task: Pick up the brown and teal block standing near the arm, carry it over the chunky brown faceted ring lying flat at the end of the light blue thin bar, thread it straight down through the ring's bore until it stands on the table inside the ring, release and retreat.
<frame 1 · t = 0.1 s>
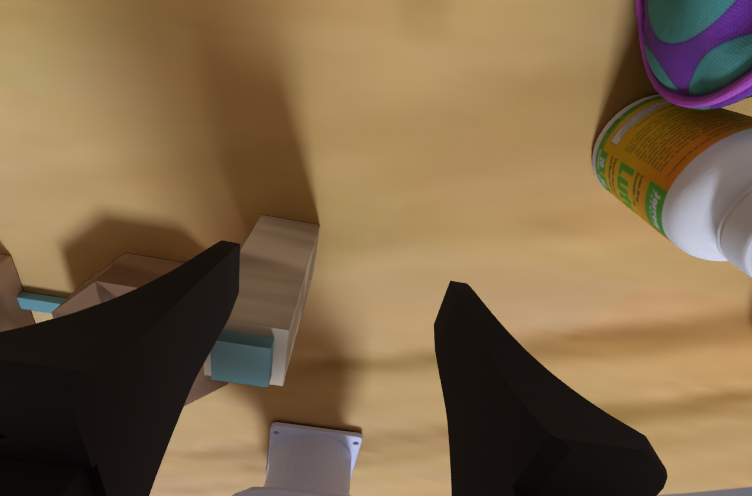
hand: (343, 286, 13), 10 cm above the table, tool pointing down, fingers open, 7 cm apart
supplement bottle: (640, 144, 21), on the table
brown faceted ring: (167, 319, 28), on the table
brown and teal block: (288, 244, 24), on the table
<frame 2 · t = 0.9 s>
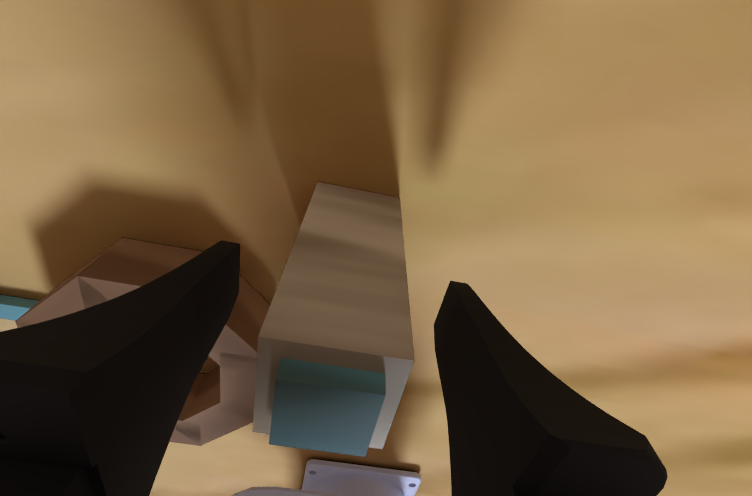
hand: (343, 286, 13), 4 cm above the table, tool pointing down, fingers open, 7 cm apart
brown faceted ring: (178, 329, 21), on the table
brown and teal block: (352, 225, 17), on the table
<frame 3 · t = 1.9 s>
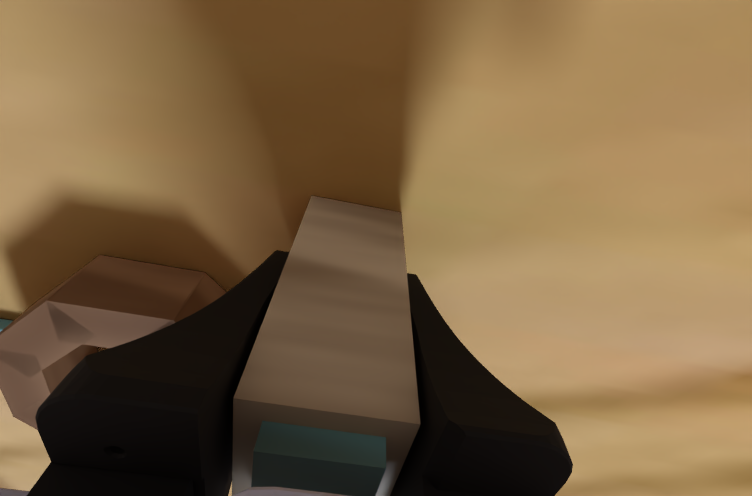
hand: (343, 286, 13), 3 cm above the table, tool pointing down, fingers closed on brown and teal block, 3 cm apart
brown faceted ring: (163, 350, 19), on the table
brown and teal block: (349, 242, 16), on the table, touching gripper
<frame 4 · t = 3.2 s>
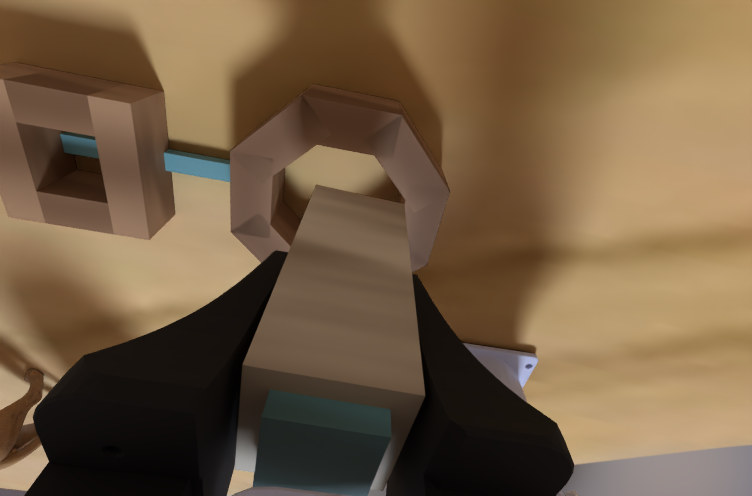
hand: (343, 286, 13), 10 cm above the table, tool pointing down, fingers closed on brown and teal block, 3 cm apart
light blue thin bar: (132, 151, 21), resting in threaded bead
brown faceted ring: (341, 189, 22), on the table
brown and teal block: (352, 233, 16), point 7 cm above the table, touching gripper
threaded bead: (103, 146, 21), on the table
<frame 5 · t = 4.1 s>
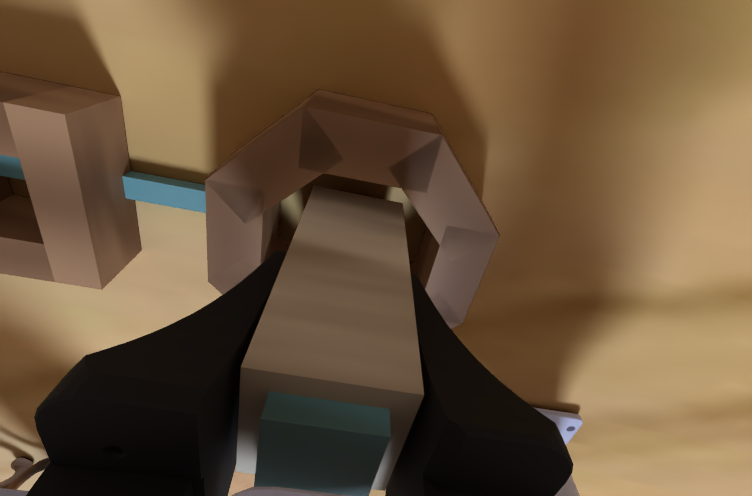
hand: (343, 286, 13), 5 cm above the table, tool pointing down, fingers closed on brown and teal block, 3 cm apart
light blue thin bar: (82, 172, 16), resting in threaded bead
brown faceted ring: (352, 222, 17), on the table
brown and teal block: (350, 233, 16), point 1 cm above the table, touching gripper
threaded bead: (44, 165, 16), on the table
when the fingers open (4 cm above the table, at t = 4.6 s): brown and teal block stays where it is, resting in brown faceted ring.
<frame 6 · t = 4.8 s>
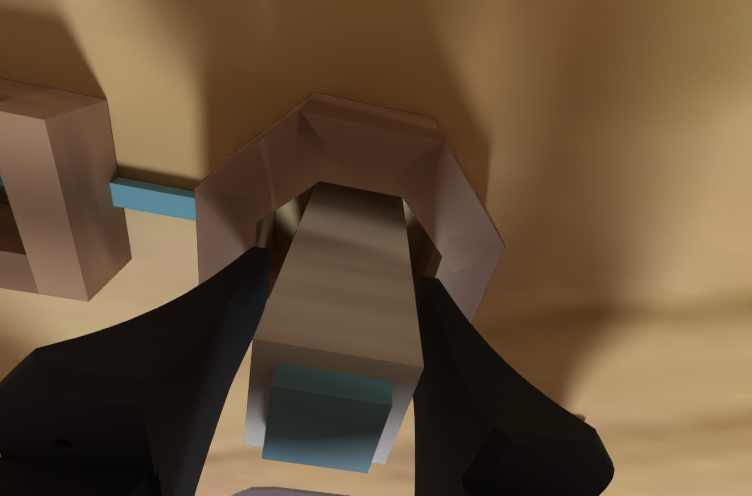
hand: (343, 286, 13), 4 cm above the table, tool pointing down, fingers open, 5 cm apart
light blue thin bar: (68, 179, 16), resting in threaded bead
brown faceted ring: (351, 230, 17), on the table
brown and teal block: (352, 227, 16), resting in brown faceted ring
threaded bead: (28, 171, 15), on the table
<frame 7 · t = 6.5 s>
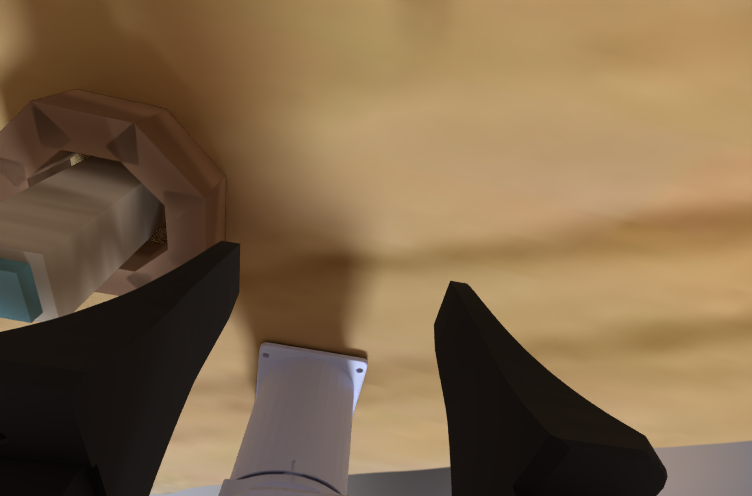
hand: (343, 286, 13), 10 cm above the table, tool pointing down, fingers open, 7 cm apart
brown faceted ring: (133, 192, 22), on the table
brown and teal block: (133, 189, 22), resting in brown faceted ring
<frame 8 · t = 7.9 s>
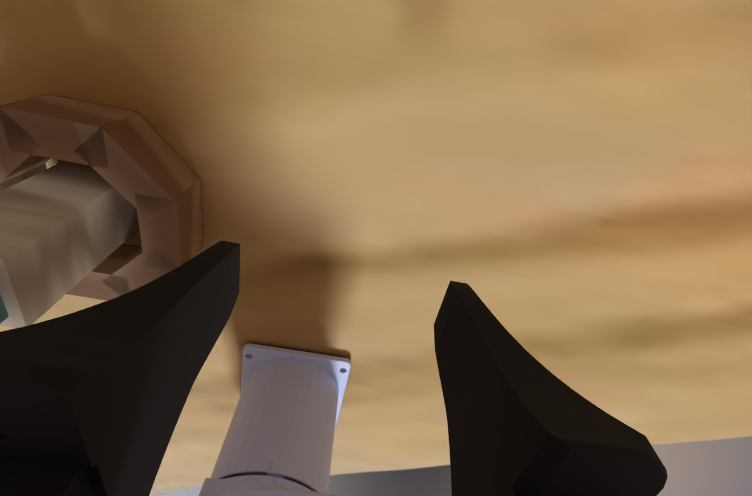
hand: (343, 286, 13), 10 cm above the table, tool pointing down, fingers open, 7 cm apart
brown faceted ring: (109, 196, 22), on the table
brown and teal block: (109, 192, 22), resting in brown faceted ring
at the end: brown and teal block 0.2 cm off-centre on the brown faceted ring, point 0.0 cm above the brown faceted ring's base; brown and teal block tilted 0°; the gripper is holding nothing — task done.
